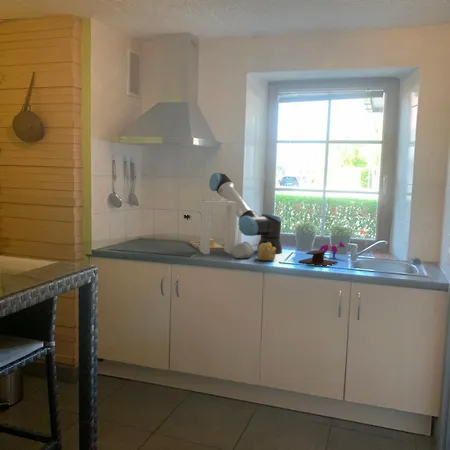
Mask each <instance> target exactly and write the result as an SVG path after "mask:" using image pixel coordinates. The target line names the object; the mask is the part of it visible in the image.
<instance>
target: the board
mask: <svg viewBox="0 0 450 450" xmlns="http://www.w3.org/2000/svg"><path fill="white" fill-rule="evenodd" d="M188 243H189V245H191V246H192V247H194V248H195V249H197V250H199V251H200V240H196V241H188ZM210 251H224V245H221V244H219V243H217V242H215V243H214V246H210Z"/></svg>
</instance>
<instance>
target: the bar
mask: <svg viewBox="0 0 450 450" xmlns="http://www.w3.org/2000/svg"><path fill="white" fill-rule="evenodd" d="M214 242H215V239H213V238H212V237H210V246H214Z"/></svg>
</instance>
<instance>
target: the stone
mask: <svg viewBox="0 0 450 450" xmlns="http://www.w3.org/2000/svg"><path fill="white" fill-rule="evenodd" d="M257 247H258V251H257V254H256V256H257V257H256V258H257V260H258V261H263V262H264V261H265V262H267V261H274V260H276V259H275V258H276V254H275V251H276V248H275V247H273V246H272V244H271V243H270V242H267V243H262V244H260V245H259V246H258V245H257Z"/></svg>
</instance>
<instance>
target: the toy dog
mask: <svg viewBox="0 0 450 450" xmlns="http://www.w3.org/2000/svg"><path fill="white" fill-rule="evenodd" d="M345 247H346V246H345V245H344V243H343V242H342V241H340V242H339V243H338V244H327V243H326V244H323V245H322V246H320V248H318V250H321V251H324V255H323V257H324V256H325V253H327V252H332V258H334V257H335V258H336V253H337V252H338V251H340V249H341V248H343V249H344V248H345Z"/></svg>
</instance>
